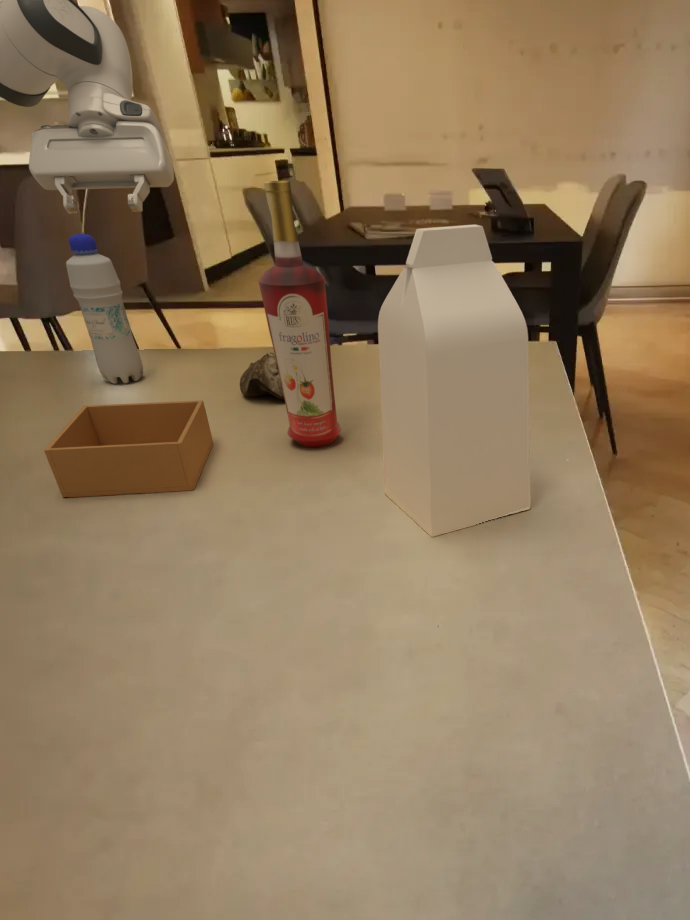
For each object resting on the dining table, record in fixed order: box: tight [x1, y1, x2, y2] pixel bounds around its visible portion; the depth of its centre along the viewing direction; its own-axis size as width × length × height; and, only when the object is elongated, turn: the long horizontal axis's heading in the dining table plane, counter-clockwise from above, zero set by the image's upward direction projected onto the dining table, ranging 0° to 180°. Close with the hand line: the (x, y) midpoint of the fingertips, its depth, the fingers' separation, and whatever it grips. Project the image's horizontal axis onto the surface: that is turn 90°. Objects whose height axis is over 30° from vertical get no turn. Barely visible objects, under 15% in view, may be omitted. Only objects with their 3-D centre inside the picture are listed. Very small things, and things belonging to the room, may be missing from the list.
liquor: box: [257, 180, 343, 448], centre depth 82 cm, size 7×7×28 cm
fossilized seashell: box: [239, 351, 285, 400], centre depth 103 cm, size 8×7×10 cm
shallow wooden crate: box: [43, 399, 214, 498], centre depth 82 cm, size 14×14×6 cm
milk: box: [377, 224, 532, 538], centre depth 69 cm, size 12×12×26 cm
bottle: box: [65, 233, 144, 385], centre depth 104 cm, size 7×7×20 cm
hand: (103, 209), depth 105 cm, fingers open, 8 cm apart
